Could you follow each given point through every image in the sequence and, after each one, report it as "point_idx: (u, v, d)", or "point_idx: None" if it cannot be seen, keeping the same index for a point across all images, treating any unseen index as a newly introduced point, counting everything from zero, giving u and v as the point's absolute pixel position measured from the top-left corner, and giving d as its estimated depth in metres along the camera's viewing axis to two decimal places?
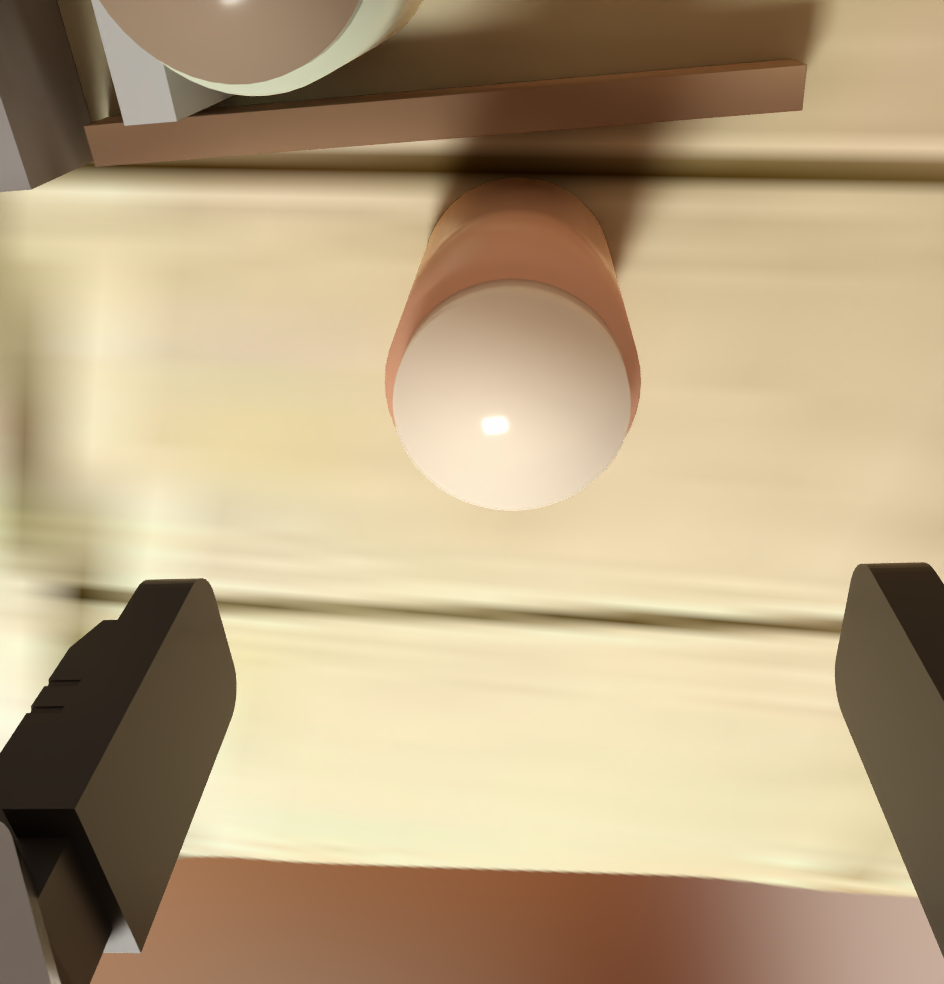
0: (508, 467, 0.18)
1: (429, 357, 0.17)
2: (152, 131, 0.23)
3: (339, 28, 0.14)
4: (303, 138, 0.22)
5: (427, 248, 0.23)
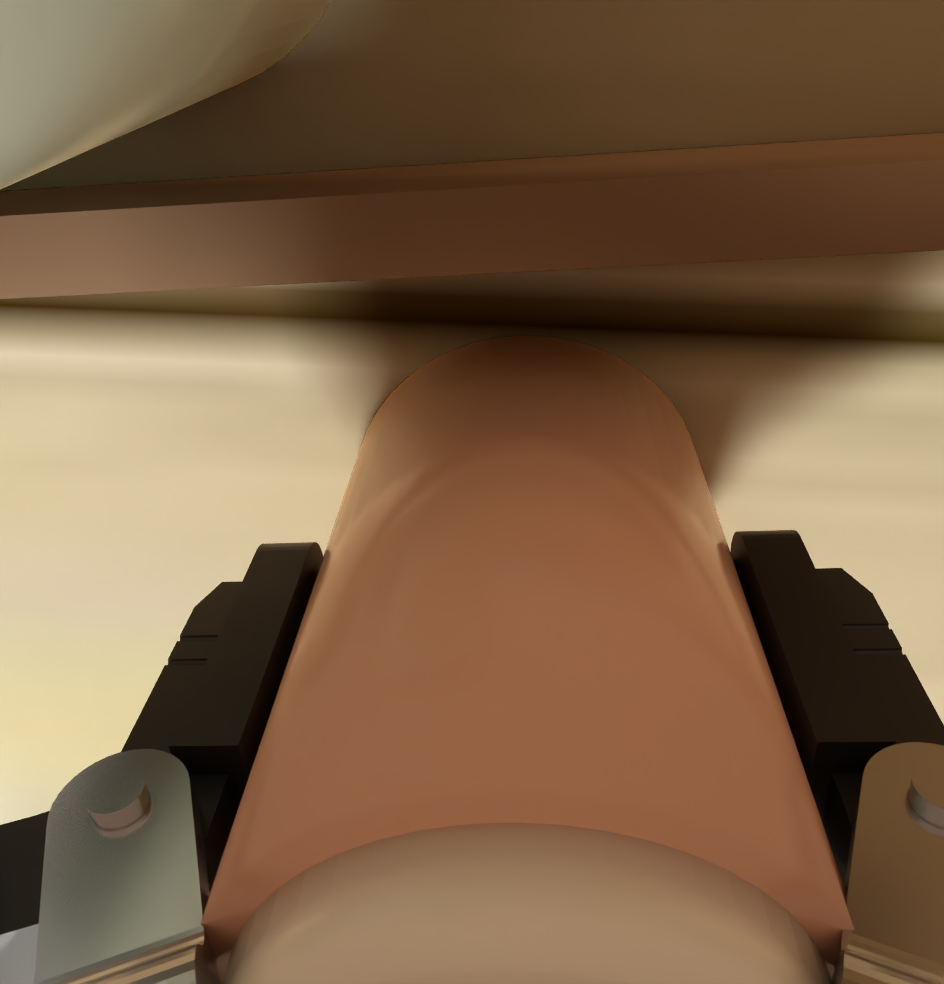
0: None
1: None
2: None
3: None
4: (88, 271, 0.11)
5: (348, 496, 0.11)
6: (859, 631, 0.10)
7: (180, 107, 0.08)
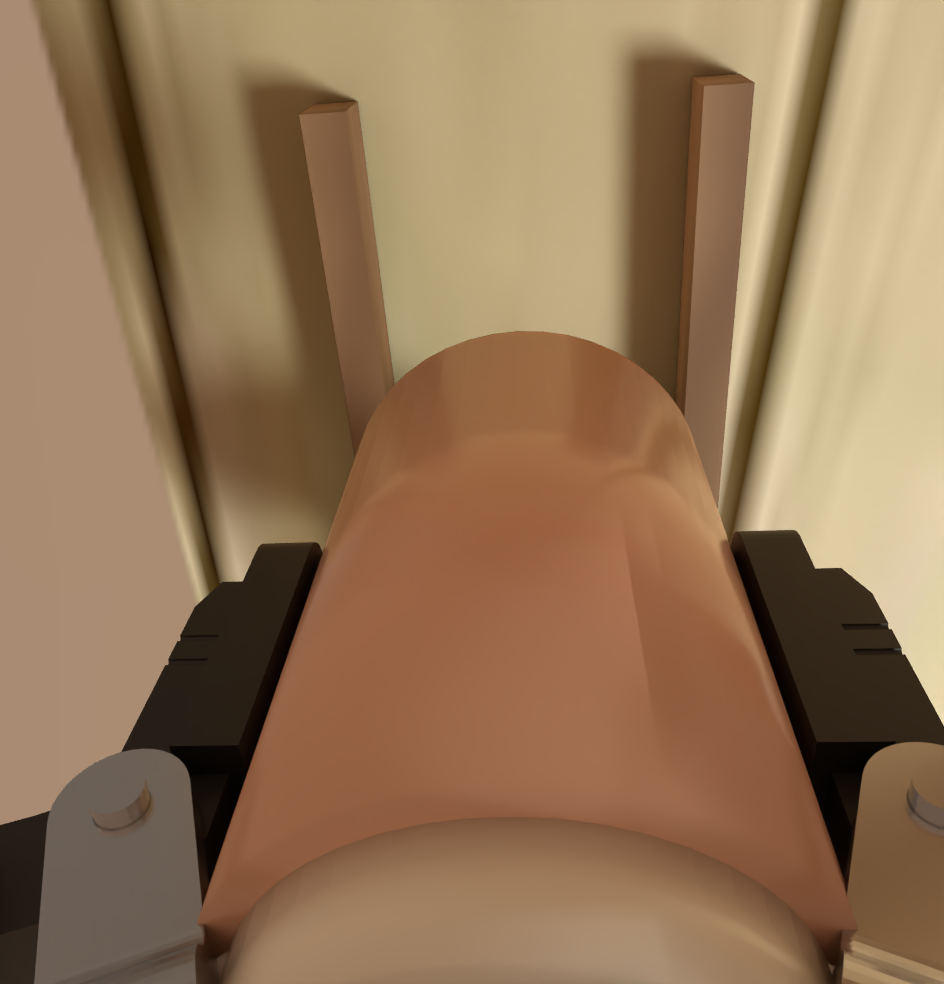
0: None
1: None
2: None
3: None
4: None
5: (348, 492, 0.11)
6: (859, 631, 0.10)
7: None
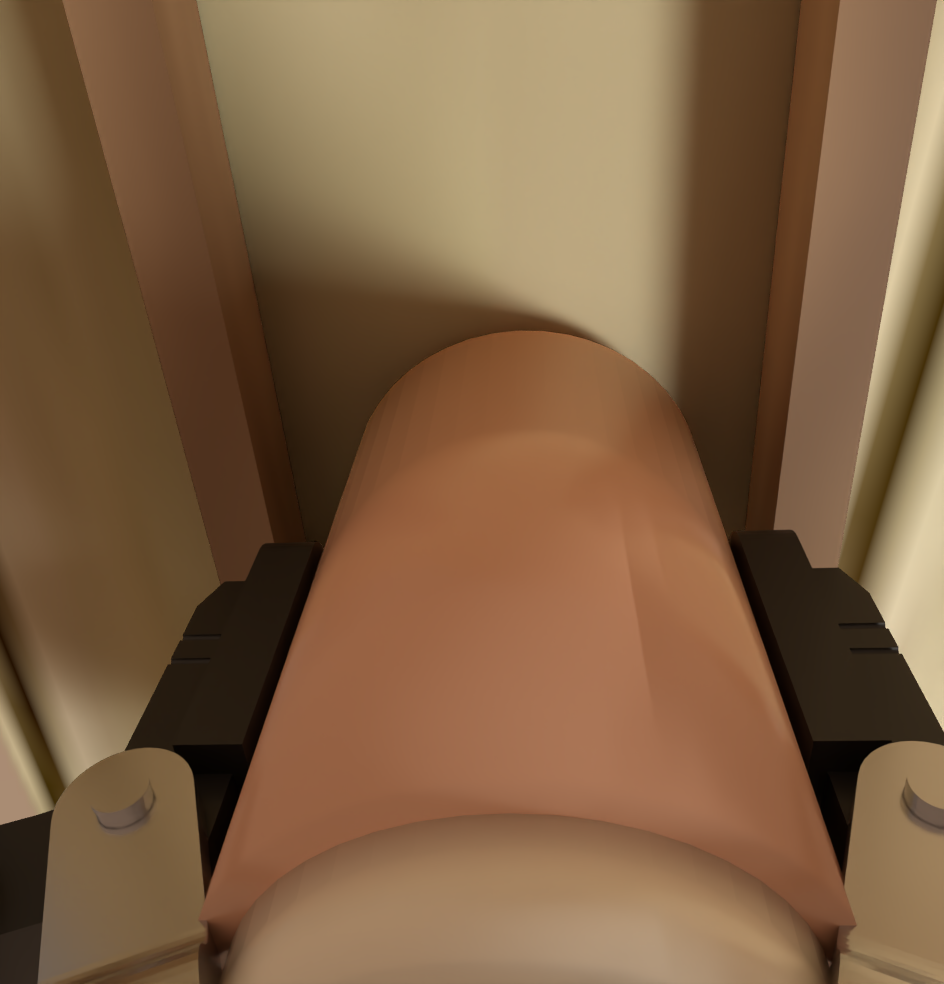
0: None
1: None
2: None
3: None
4: None
5: (348, 491, 0.11)
6: (856, 630, 0.10)
7: None
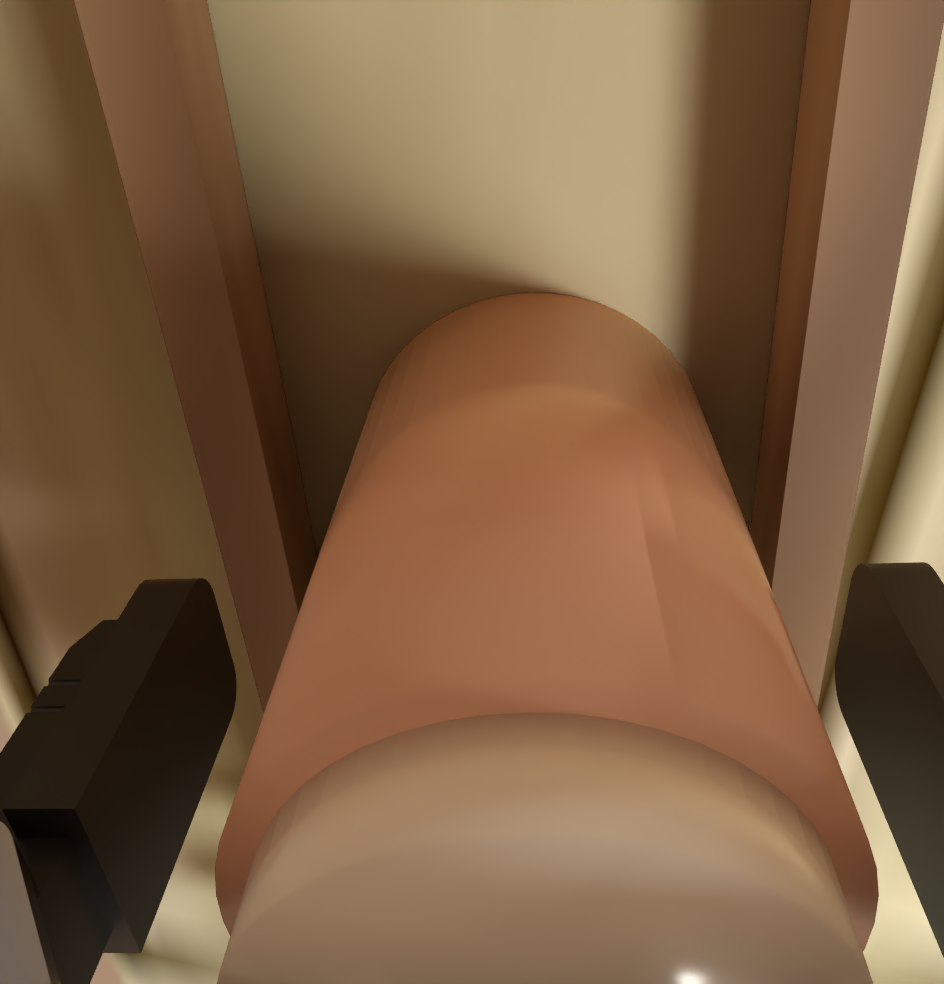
0: None
1: (306, 949, 0.06)
2: None
3: None
4: None
5: (360, 446, 0.11)
6: None
7: None
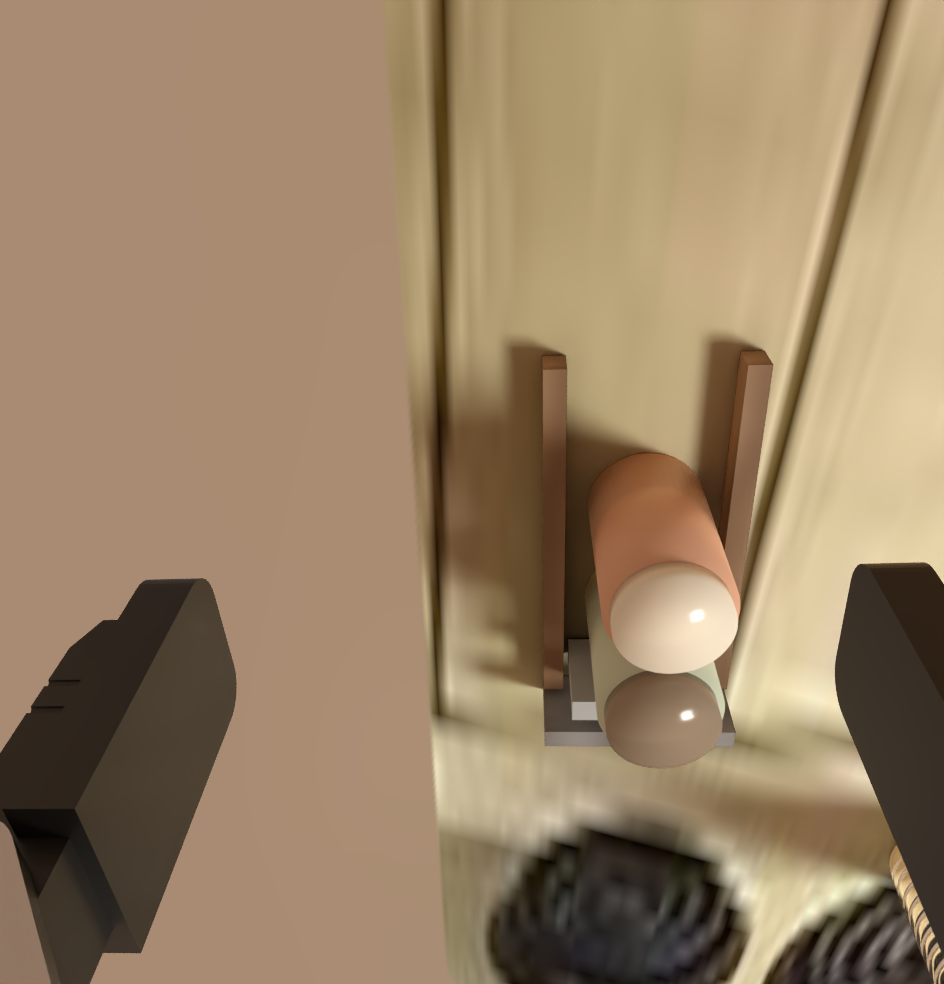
0: (668, 653, 0.35)
1: (635, 602, 0.33)
2: (715, 663, 0.44)
3: (709, 698, 0.36)
4: None
5: (603, 502, 0.39)
6: None
7: None
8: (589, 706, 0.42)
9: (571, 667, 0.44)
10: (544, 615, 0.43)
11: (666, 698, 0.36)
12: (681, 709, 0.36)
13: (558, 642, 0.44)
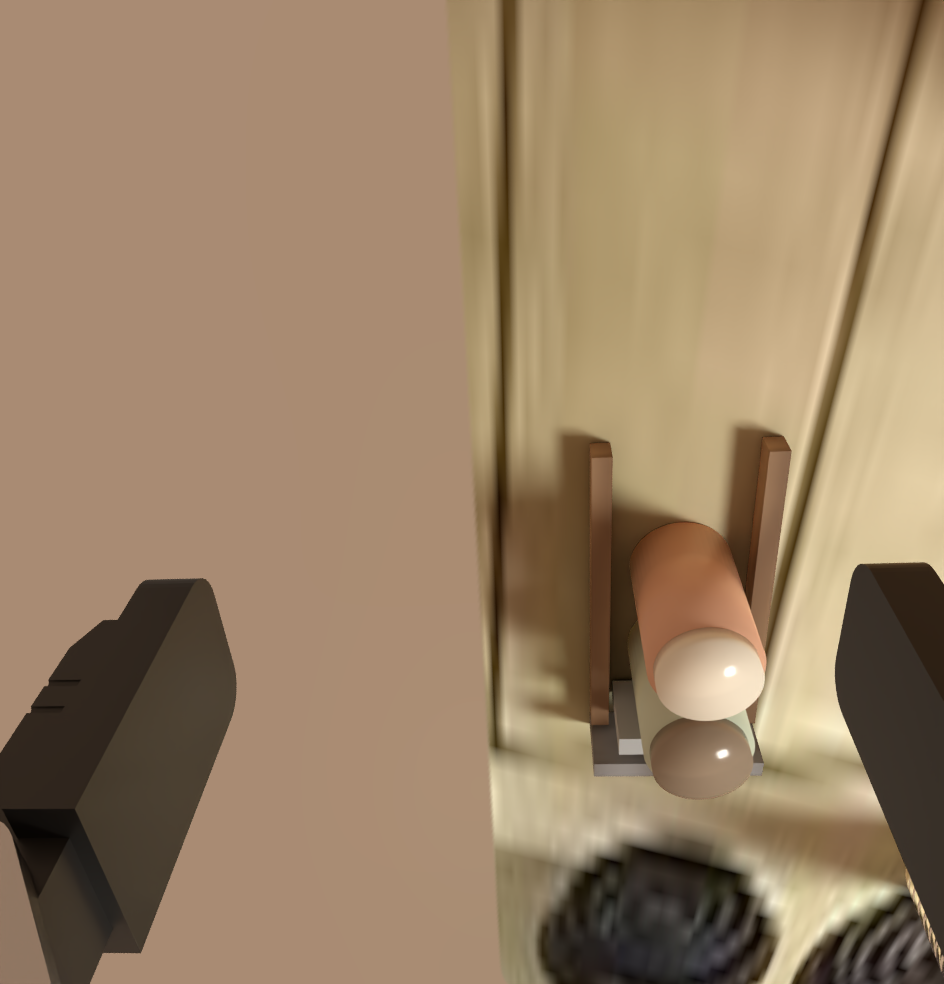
0: (705, 704, 0.40)
1: (676, 662, 0.39)
2: None
3: (742, 740, 0.41)
4: None
5: (644, 568, 0.45)
6: None
7: None
8: (634, 742, 0.48)
9: (616, 707, 0.50)
10: (592, 662, 0.49)
11: (704, 740, 0.41)
12: (717, 749, 0.42)
13: (604, 684, 0.50)
